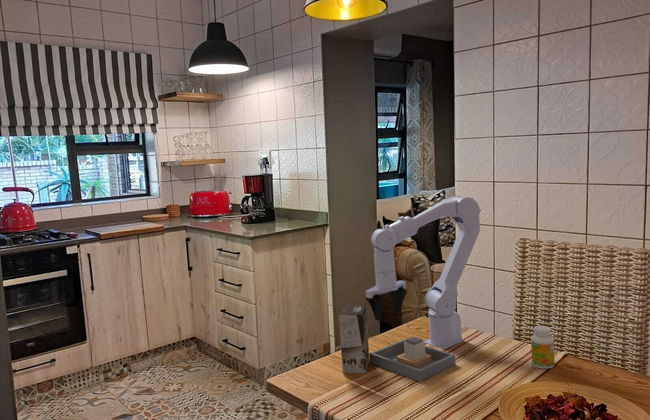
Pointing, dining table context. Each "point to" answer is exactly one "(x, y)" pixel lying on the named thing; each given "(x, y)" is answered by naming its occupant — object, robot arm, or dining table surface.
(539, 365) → the supplement bottle
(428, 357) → the inlet socket
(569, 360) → the dining table surface
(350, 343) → the coffee box
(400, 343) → the walled box
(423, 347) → the plug block
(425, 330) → the dining table surface
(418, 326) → the dining table surface
